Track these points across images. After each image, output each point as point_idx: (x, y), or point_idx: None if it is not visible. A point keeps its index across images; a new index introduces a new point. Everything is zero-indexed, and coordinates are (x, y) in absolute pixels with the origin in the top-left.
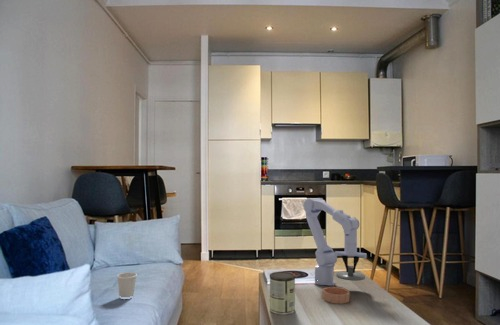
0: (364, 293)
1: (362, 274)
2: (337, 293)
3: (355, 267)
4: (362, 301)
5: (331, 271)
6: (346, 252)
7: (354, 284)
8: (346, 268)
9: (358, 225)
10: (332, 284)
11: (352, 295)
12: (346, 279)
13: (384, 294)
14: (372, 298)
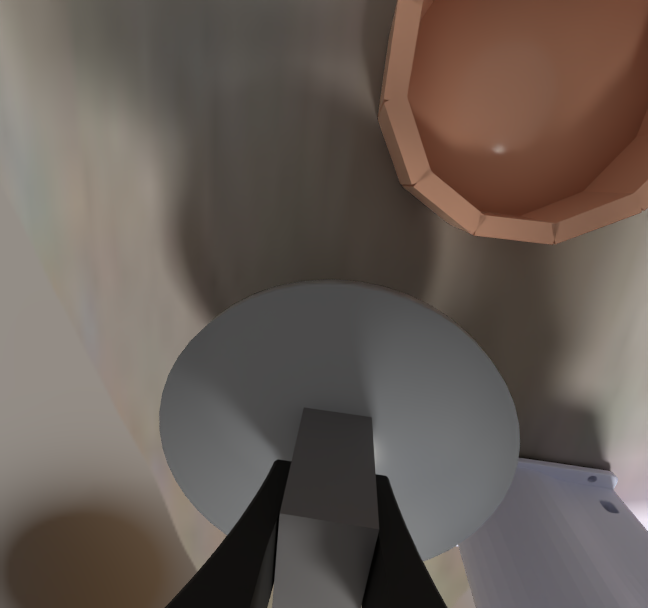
0: None
1: (192, 494)
2: (484, 212)
3: (235, 526)
4: (258, 76)
5: (523, 590)
6: None
7: None
8: (398, 523)
9: None
10: None
11: (335, 245)
12: (406, 297)
13: (90, 321)
14: (172, 196)
